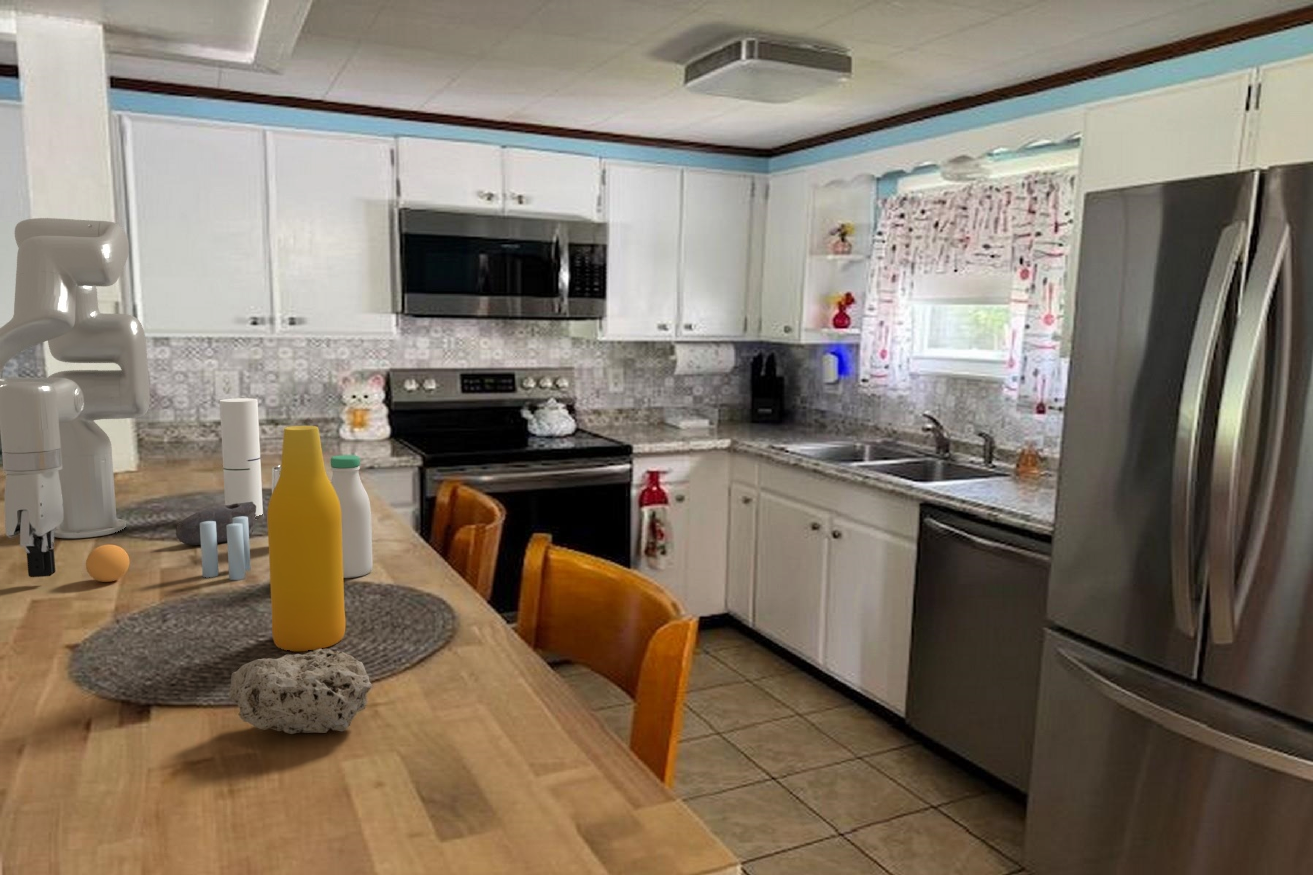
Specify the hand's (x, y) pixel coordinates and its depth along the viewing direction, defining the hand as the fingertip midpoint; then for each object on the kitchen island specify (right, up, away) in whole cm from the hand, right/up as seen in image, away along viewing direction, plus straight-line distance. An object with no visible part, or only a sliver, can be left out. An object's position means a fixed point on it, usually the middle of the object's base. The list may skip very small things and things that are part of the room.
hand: (42, 574), depth 140 cm
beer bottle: (+51, -6, -21) cm, 55 cm away
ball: (+9, +2, +2) cm, 9 cm away
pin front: (+23, -1, +7) cm, 24 cm away
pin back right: (+27, -1, +10) cm, 29 cm away
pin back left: (+28, -1, +5) cm, 29 cm away
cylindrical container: (+10, +5, +47) cm, 49 cm away
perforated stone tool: (+14, +2, +28) cm, 31 cm away
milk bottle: (+45, -1, +10) cm, 46 cm away
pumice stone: (+59, -9, -45) cm, 75 cm away
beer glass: (+30, +1, +26) cm, 39 cm away
